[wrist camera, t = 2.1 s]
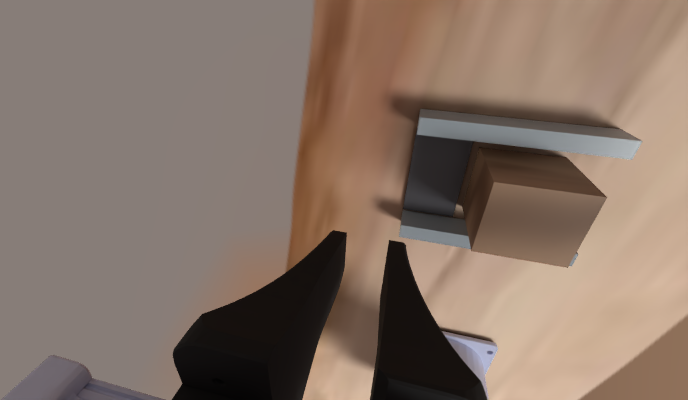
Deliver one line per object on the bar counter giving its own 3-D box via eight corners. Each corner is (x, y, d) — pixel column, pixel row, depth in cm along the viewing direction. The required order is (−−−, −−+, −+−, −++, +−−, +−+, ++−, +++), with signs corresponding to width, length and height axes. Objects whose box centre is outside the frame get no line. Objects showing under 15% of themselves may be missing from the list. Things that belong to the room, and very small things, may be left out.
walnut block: (539, 217, 21) (567, 267, 17) (462, 205, 22) (471, 251, 18) (566, 157, 19) (607, 197, 14) (479, 146, 20) (494, 181, 15)
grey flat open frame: (560, 247, 22) (571, 266, 20) (400, 221, 23) (399, 236, 22) (621, 129, 17) (642, 141, 16) (420, 108, 19) (419, 117, 17)
